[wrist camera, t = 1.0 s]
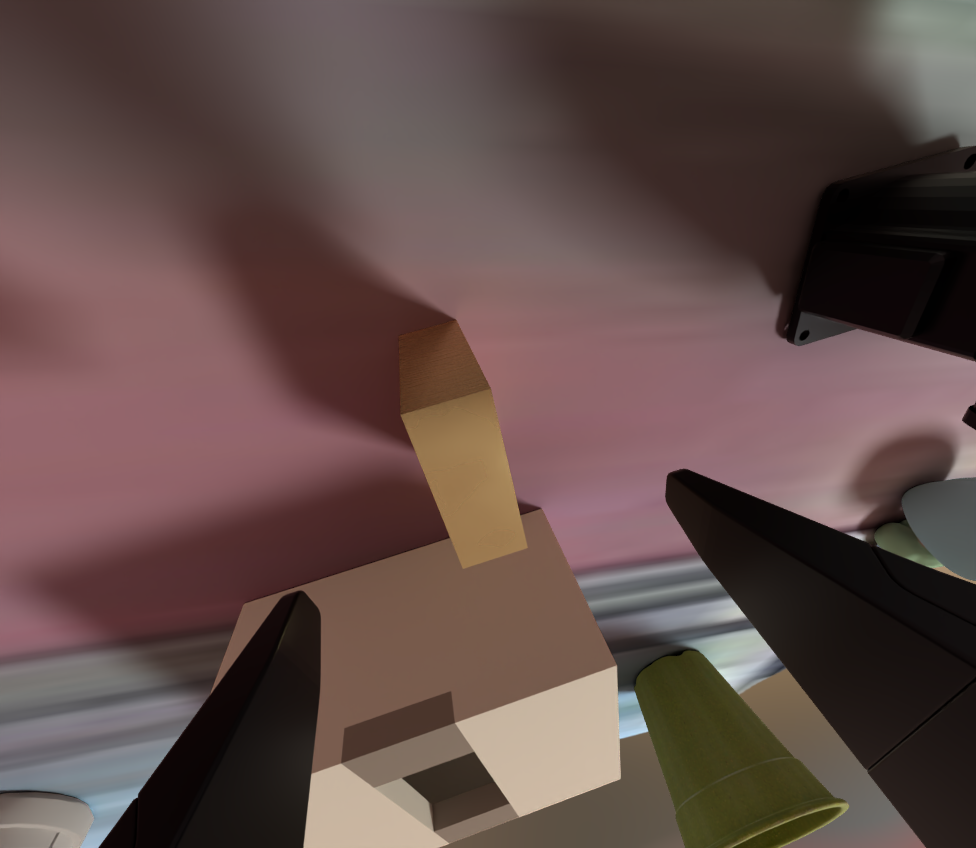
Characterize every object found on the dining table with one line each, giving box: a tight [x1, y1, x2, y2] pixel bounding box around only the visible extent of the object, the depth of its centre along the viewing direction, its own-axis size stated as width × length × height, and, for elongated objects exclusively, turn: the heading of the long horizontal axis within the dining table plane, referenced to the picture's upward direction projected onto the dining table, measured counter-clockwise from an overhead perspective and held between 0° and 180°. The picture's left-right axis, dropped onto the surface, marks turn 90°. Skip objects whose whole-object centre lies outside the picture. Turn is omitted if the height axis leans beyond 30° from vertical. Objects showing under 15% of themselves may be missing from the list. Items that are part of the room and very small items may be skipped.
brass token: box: [399, 320, 528, 569], centre depth 13 cm, size 2×6×6 cm, turn 12°
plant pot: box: [634, 650, 849, 848], centre depth 30 cm, size 12×12×11 cm
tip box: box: [210, 509, 621, 848], centre depth 20 cm, size 16×14×8 cm
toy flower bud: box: [874, 477, 976, 581], centre depth 26 cm, size 7×9×12 cm
